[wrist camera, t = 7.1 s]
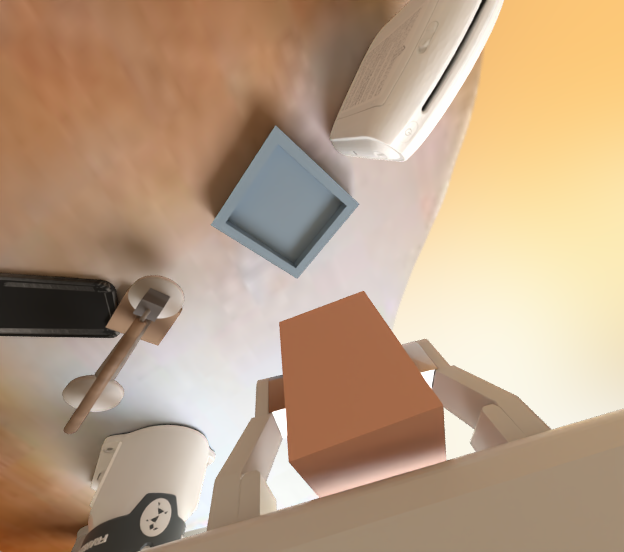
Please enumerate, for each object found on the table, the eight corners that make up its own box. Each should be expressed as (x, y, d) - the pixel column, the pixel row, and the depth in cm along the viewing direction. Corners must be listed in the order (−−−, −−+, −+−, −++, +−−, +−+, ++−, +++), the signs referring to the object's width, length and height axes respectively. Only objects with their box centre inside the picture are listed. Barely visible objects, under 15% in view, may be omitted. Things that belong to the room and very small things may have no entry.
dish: (294, 269, 30) (297, 278, 28) (214, 218, 25) (210, 225, 23) (351, 199, 27) (359, 204, 25) (274, 127, 22) (275, 125, 20)
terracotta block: (307, 376, 14) (332, 512, 9) (279, 322, 12) (289, 462, 6) (378, 350, 14) (446, 470, 9) (363, 290, 12) (443, 405, 6)
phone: (121, 338, 29) (-44, 335, 25) (125, 331, 30) (-32, 328, 26) (110, 283, 26) (-82, 270, 22) (115, 278, 27) (-68, 265, 23)
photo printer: (355, 164, 25) (424, 174, 15) (321, 144, 24) (372, 138, 13) (411, 56, 22) (555, -33, 11) (375, 24, 20) (504, -117, 10)
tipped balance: (143, 365, 32) (95, 454, 23) (93, 350, 30) (15, 443, 20) (203, 278, 28) (174, 343, 19) (151, 251, 26) (86, 312, 16)
